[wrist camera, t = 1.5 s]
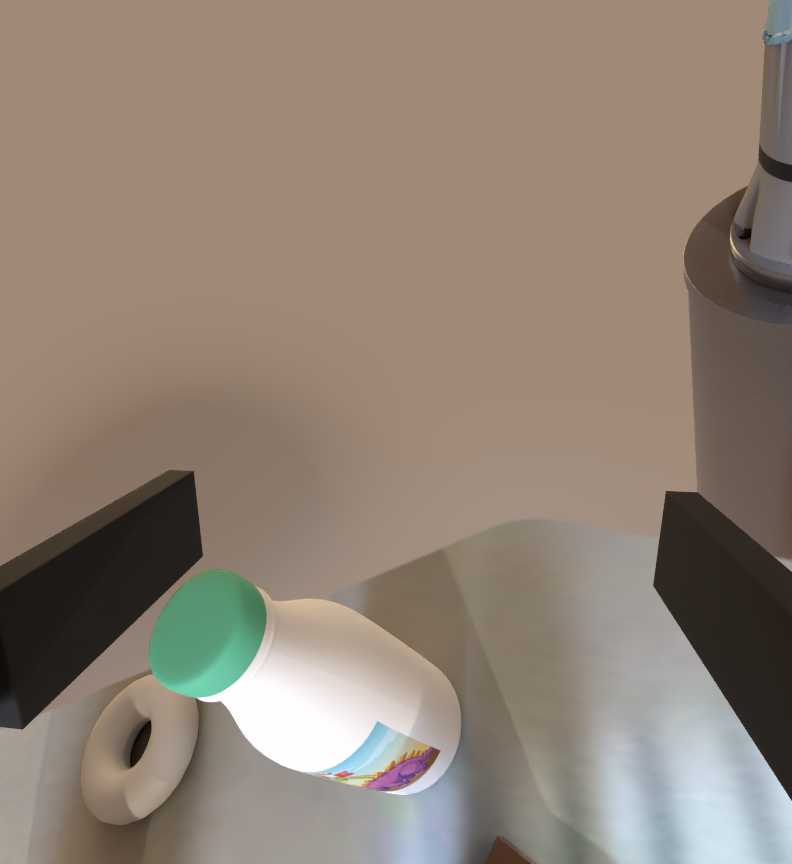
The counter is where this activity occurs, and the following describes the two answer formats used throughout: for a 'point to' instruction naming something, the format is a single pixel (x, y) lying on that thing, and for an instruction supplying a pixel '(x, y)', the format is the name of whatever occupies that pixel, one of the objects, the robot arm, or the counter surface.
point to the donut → (159, 765)
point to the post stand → (506, 853)
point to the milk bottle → (309, 683)
